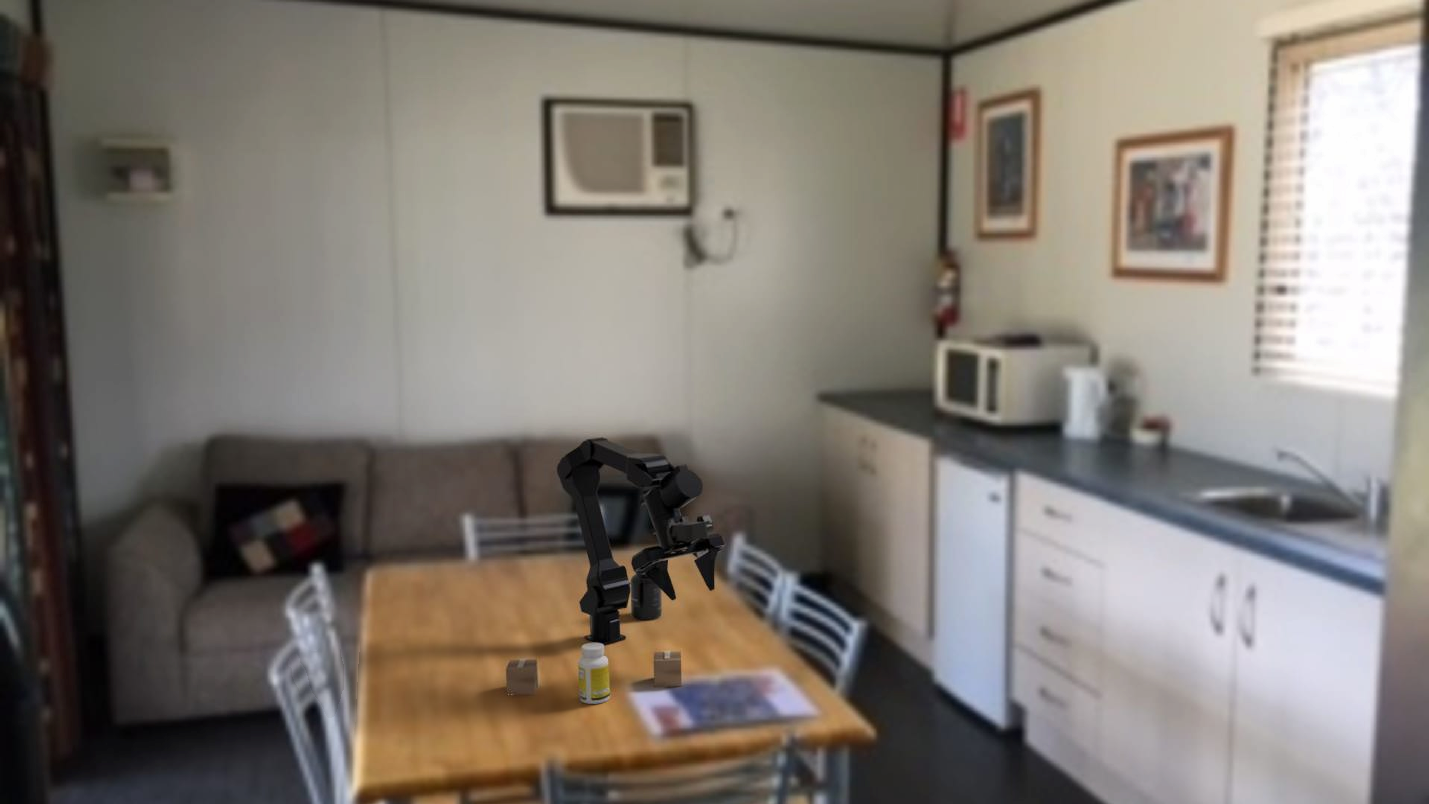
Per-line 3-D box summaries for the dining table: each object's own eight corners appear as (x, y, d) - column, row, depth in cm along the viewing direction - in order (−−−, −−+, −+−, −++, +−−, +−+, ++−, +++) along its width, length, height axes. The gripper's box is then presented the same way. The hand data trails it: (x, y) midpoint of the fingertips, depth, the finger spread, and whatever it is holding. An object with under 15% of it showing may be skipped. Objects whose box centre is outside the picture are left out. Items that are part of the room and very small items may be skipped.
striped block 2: (654, 677, 216) (653, 650, 215) (681, 677, 216) (680, 649, 215) (654, 687, 211) (653, 659, 210) (681, 686, 211) (680, 658, 210)
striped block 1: (510, 686, 213) (509, 658, 212) (538, 685, 213) (536, 657, 212) (507, 696, 208) (505, 667, 207) (534, 694, 208) (533, 666, 208)
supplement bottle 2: (625, 619, 253) (624, 565, 251) (639, 610, 259) (637, 558, 258) (654, 622, 250) (652, 568, 249) (667, 613, 256) (665, 560, 255)
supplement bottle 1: (614, 695, 207) (613, 642, 206) (602, 706, 202) (600, 652, 201) (587, 692, 208) (585, 640, 207) (574, 703, 203) (572, 649, 202)
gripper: (648, 509, 207) (677, 590, 203) (726, 494, 219) (755, 571, 215) (618, 530, 215) (645, 610, 211) (695, 516, 227) (722, 590, 223)
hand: (693, 594), depth 215 cm, fingers open, 9 cm apart
